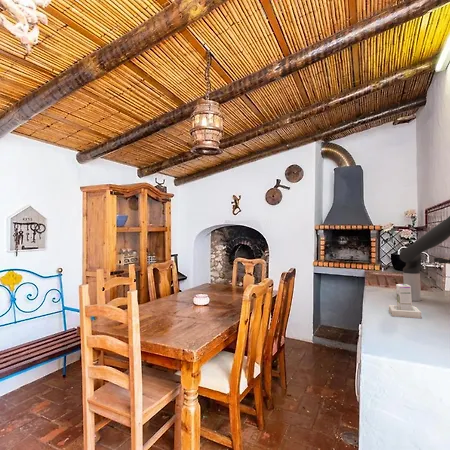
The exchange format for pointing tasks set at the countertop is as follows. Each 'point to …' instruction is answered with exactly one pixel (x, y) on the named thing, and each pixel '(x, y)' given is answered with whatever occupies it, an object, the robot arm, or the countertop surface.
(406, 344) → the countertop surface
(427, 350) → the countertop surface
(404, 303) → the syrup box
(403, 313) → the square stand
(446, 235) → the robot arm
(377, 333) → the countertop surface
